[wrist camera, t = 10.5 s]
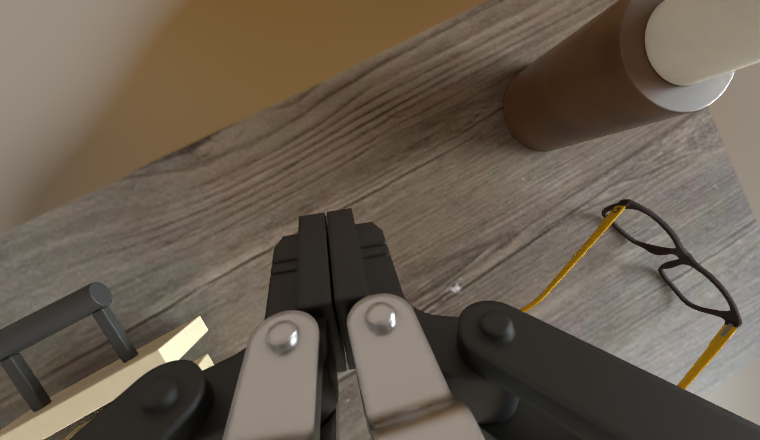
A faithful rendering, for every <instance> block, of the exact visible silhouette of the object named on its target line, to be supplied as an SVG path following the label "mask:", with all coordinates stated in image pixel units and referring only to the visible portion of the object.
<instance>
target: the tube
mask: <svg viewBox="0 0 760 440" xmlns="http://www.w3.org/2000/svg"><path fill="white" fill-rule="evenodd" d="M645 48H646V53H647V56H648V59H649V61H650V63H651V65H652V67H653V68H654V70H655V71H656V72H657V73H658V74H659V75H660V76H661V77H662V78H663V79H665V80H666V81H668V82H670V83H672V84H675V85H680V86H689V85H694V84H697V83H700V82H703V81H706V80H709V79H712V78H714V77H717V76H720V75H723V74H726V73H729V72H732V71H735V70H737V69H740V68H743V67H746V66H749V65H752V64H755V63H758V62H760V0H664V1H663V2H662V3H660V4H659V5H658V6H657V7H656V8H655V10H654V11H653V12H652V14H651V16H650V18H649V20H648V22H647V25H646V30H645Z"/></svg>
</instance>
